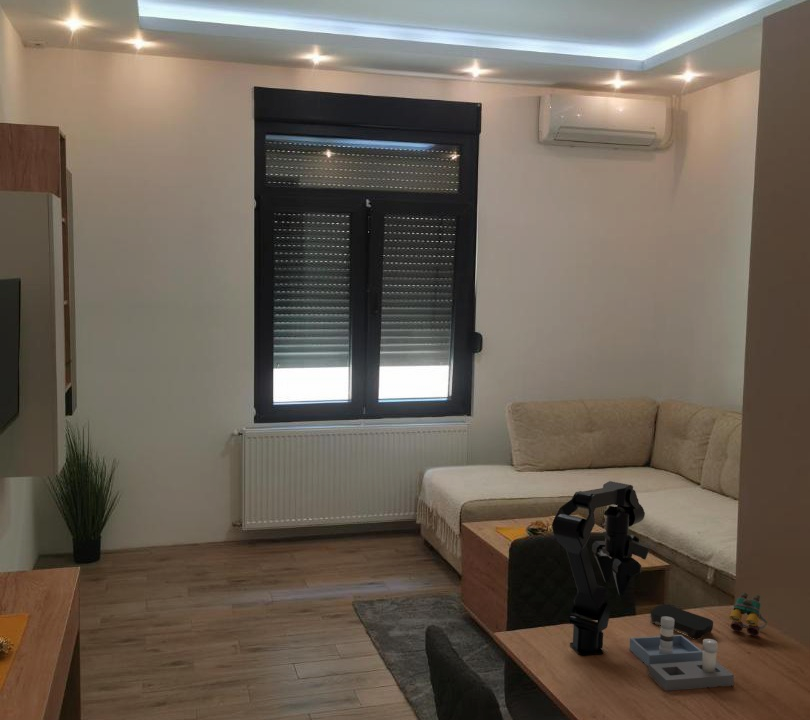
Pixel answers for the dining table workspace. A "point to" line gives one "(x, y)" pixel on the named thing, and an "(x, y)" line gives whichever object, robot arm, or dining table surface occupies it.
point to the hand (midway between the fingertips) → (614, 588)
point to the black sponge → (683, 621)
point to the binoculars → (752, 611)
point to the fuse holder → (689, 675)
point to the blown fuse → (666, 635)
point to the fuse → (709, 655)
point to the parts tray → (650, 654)
